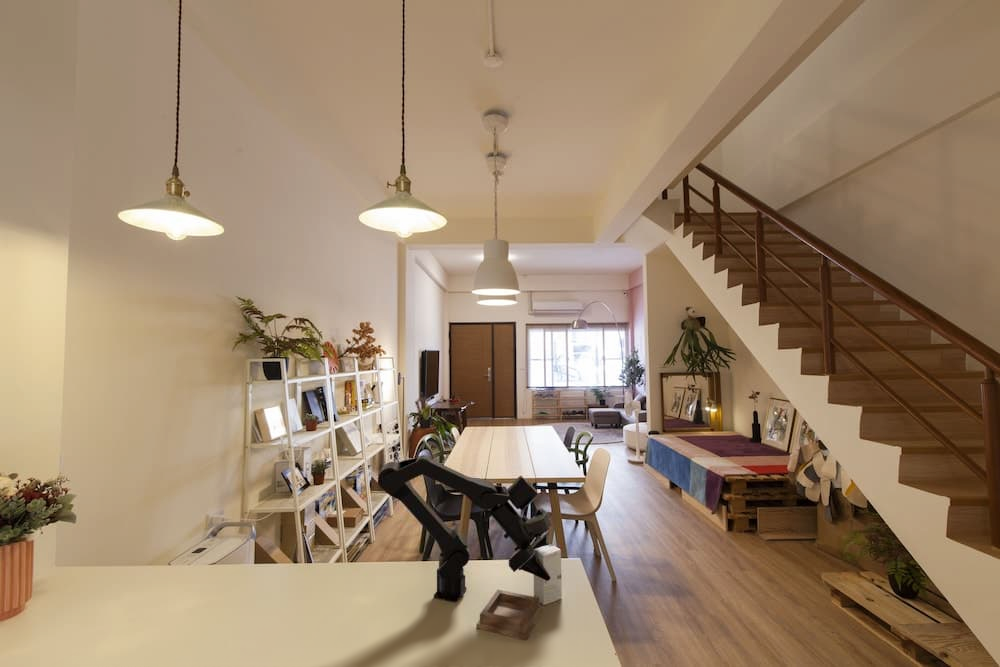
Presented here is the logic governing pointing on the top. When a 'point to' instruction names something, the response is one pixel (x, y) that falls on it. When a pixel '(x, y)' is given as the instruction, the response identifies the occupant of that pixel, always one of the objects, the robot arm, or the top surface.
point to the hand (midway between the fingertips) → (552, 572)
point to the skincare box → (552, 564)
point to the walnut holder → (510, 614)
